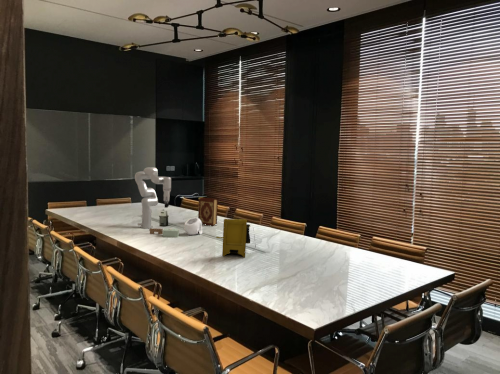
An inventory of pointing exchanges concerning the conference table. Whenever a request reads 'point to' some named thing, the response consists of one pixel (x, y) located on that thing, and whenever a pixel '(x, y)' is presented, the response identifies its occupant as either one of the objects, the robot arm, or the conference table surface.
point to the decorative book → (208, 210)
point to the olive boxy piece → (235, 236)
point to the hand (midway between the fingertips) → (166, 206)
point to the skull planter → (193, 226)
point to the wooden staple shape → (160, 231)
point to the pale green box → (170, 232)
